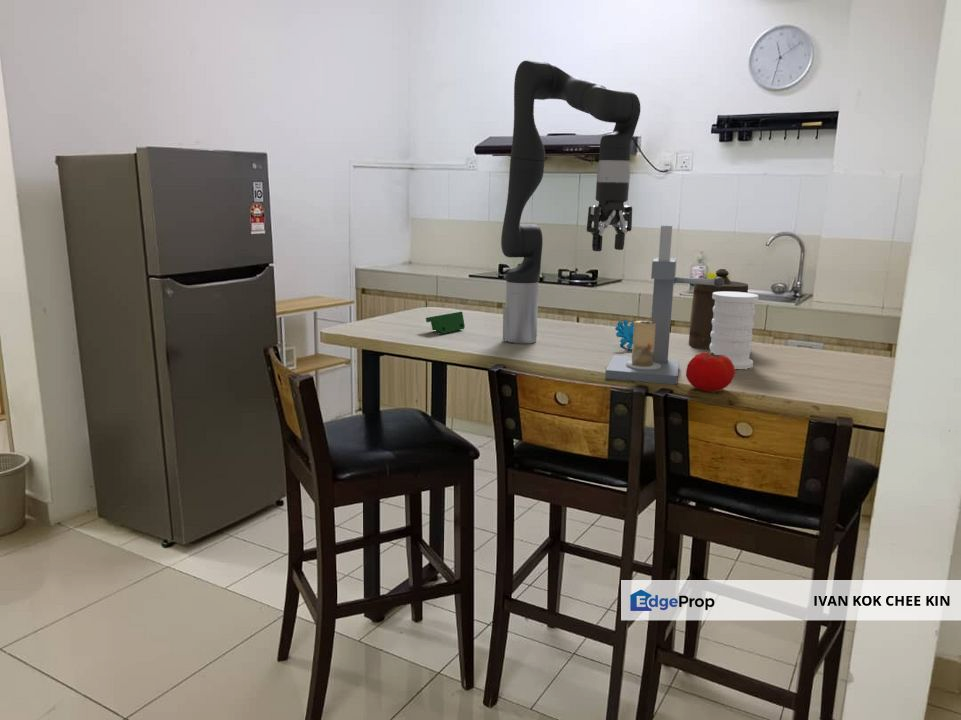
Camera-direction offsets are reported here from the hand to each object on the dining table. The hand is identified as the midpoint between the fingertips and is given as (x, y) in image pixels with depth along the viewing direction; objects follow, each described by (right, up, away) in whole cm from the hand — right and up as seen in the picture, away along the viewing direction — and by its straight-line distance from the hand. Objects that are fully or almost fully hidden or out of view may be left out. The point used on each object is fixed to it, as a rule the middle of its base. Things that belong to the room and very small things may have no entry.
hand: (608, 250), depth 174 cm
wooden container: (+37, -22, +34) cm, 55 cm away
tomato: (+20, -33, -14) cm, 41 cm away
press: (+13, -30, -1) cm, 32 cm away
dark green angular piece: (-42, -18, +49) cm, 67 cm away
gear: (+12, -23, +29) cm, 39 cm away
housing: (+8, -27, -2) cm, 28 cm away
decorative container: (+33, -28, +11) cm, 44 cm away
